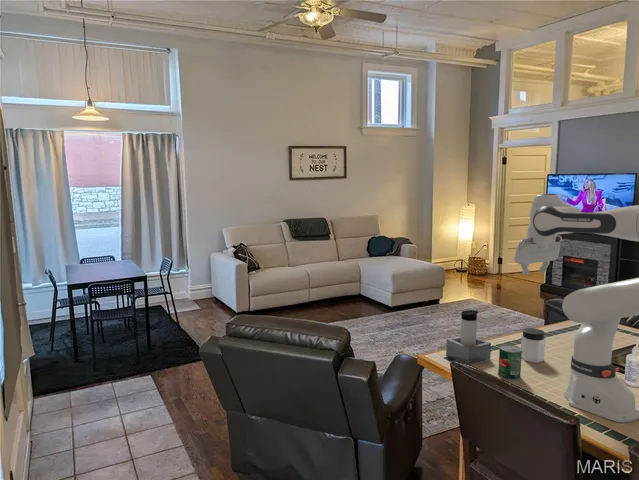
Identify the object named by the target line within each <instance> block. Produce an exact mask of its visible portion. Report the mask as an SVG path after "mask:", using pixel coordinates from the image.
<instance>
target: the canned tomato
mask: <svg viewBox="0 0 639 480" xmlns="http://www.w3.org/2000/svg"><path fill="white" fill-rule="evenodd" d="M498 351H499V353H498V354H499V355H498V370H497V371H498V372H497V375H498V377H499V378H502V379H503V380H508V381H517V380H520V379H521V372H522V371H521V369H522V358H521V355H522V349H521V346H520V347H519V346H517V345H514V344H501V345H500V346H499V350H498Z"/></svg>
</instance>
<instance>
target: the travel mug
mask: <svg viewBox="0 0 639 480" xmlns="http://www.w3.org/2000/svg"><path fill="white" fill-rule="evenodd" d="M478 314H479V311H478V310H472V309H470V310H463V311H462V312H461V315H460V316H461V317H460V336H461V337H460V343H461V344H463V345H466V346H468V347H470V346H474V345H476V338H477V329H478V327H477V326H478Z"/></svg>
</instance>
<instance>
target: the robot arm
mask: <svg viewBox="0 0 639 480" xmlns="http://www.w3.org/2000/svg"><path fill="white" fill-rule="evenodd" d="M573 233H580V234H581V233H582V234H583V233H584V234H595V235H601V236H607V237H611V238H616V239H621V240H627V241H633V242H639V204H637V205H628V206H622V207H617V208H612V209H608V210H602V211H595V212H582V210H581V209H580V208H579V207H577V206H574V205H571V204H569V203H568V202H565V201H564V200H562V198H560V196H559V195H558V194H556V193H538V194H537V195H535V196H534V197H533V200H532V201H531V207H530V210H529V223H528V226H527V231H526V238H522V239H521V240H520V241H519V243H518V245H517V246H516V250H515V254H514V258H513V260H514V262H515V263H516V264H518V265H520V266H521V269H522V275H524V276H528V275H530V269H528V267H529V265H530V264H537V263H538V264H539V263H542V265H541V266H540V267H539V273H546V272H547V268H548V266H549V265H550V263H551V261H552V262H553V261H556V260H557V259H558V258H559V256H560V250H561V242H562V239H563V237H562V236H561V235H565V234H567V235H568V234H573ZM562 310H563V313H564V315H565V316H566V317H567V319H569V320H570V321H571V322H574V323H578V324H581V325H580V326H579V328H578V329H577V331H575V334H574V339H573V353H572V356H571V359H570V360H571V361H570V370H571V371H570V378H569V381H568V384H567V387H566V390H565V392H564V396H565V398H566V399H567V401H568V405H569V406H571V407H573V408H577V409H580V410H582V411H586V412H588V413H589V414H590V413H591V414H593V415H596V416H599V417H601V418H604V419H607V420H610V421H612V422H615V423H631V422H635V421H637V420H638V419H639V406H637V405H636V399H635V394H634V392H633V391H632V390H630V388H629V387H628V386H627V385H626V384H625V383H624V382H623V381H622V380H621V379H620V378H619V377H618V376H617V374H616V372H619V371H620V370H619V369H620V367H615V366H614V365H613V362H612V354H613V347H614V346H613V345H614V340H615V337H616V333H617V331H618V327H619V324H620V321H621V320H622V318H629V317H630V318H631V317H634V316H635V317H637V316H639V277H634V278H630V279H625V280H621V281H615V282H610V283H609V282H608V283H606V284H605V283H604V284H600V285H595V286H591V287H585V288H580V289H577V290H575V291H572V292H570V293H569V294H568V295H566V296H565V297H564V298H563V300H562Z"/></svg>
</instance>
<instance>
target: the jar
mask: <svg viewBox="0 0 639 480" xmlns="http://www.w3.org/2000/svg"><path fill="white" fill-rule="evenodd" d="M545 334H546V333H545V331H543V330H542V329H539V328H534V327H533V328H531V327H526V328H524V329H522V335H521V338H520V339H521V341H520V343H521V344H520V348H521V349H522V355H521V359H522V360H524V361H525V362H529V363H534V364H538V363H541V362H544V361H545V350H546V338H545Z"/></svg>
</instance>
